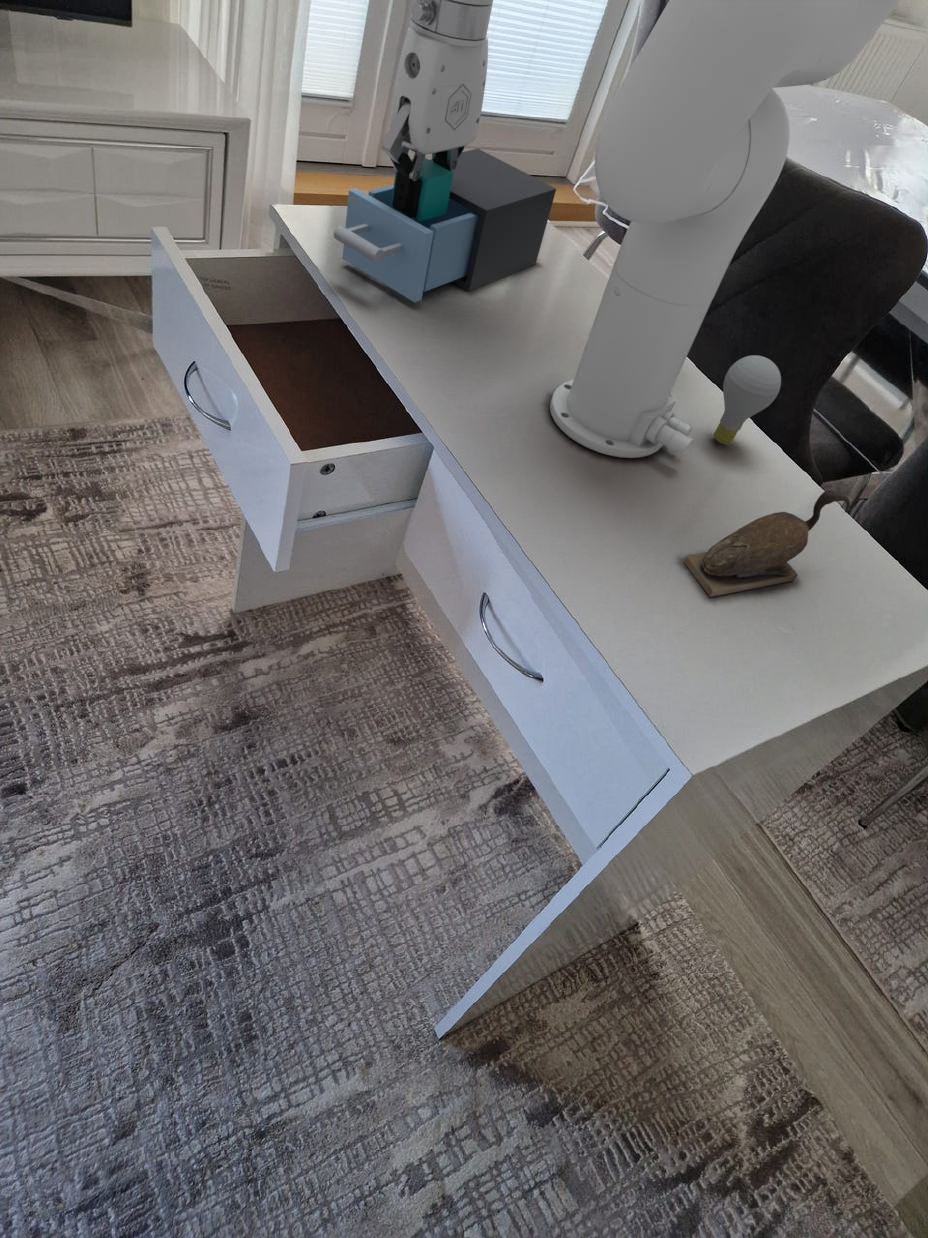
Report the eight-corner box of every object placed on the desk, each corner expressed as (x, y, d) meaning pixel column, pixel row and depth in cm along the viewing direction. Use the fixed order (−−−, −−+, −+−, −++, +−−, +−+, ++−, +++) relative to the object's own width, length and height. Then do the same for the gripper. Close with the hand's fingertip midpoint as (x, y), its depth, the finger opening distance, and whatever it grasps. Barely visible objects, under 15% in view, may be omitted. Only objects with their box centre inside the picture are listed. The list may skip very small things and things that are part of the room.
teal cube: (446, 214, 93) (453, 172, 90) (420, 221, 90) (427, 179, 87) (416, 197, 94) (423, 156, 91) (390, 204, 91) (396, 162, 88)
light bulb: (719, 462, 84) (764, 378, 77) (686, 430, 87) (727, 347, 80) (755, 453, 87) (802, 371, 80) (721, 423, 90) (764, 341, 82)
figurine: (797, 541, 78) (847, 470, 72) (827, 574, 76) (881, 503, 69) (681, 561, 72) (724, 486, 66) (709, 598, 70) (756, 523, 64)
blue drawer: (386, 313, 89) (397, 243, 83) (312, 267, 92) (317, 197, 87) (485, 274, 100) (500, 209, 94) (416, 235, 104) (426, 170, 98)
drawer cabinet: (468, 291, 98) (486, 210, 91) (391, 246, 102) (403, 165, 95) (535, 264, 107) (556, 188, 100) (462, 223, 111) (477, 147, 104)
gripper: (423, 34, 72) (394, 238, 86) (529, 25, 83) (488, 208, 96) (362, 4, 75) (342, 207, 88) (473, -1, 85) (440, 182, 98)
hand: (419, 206), depth 92 cm, fingers closed on teal cube, 4 cm apart
